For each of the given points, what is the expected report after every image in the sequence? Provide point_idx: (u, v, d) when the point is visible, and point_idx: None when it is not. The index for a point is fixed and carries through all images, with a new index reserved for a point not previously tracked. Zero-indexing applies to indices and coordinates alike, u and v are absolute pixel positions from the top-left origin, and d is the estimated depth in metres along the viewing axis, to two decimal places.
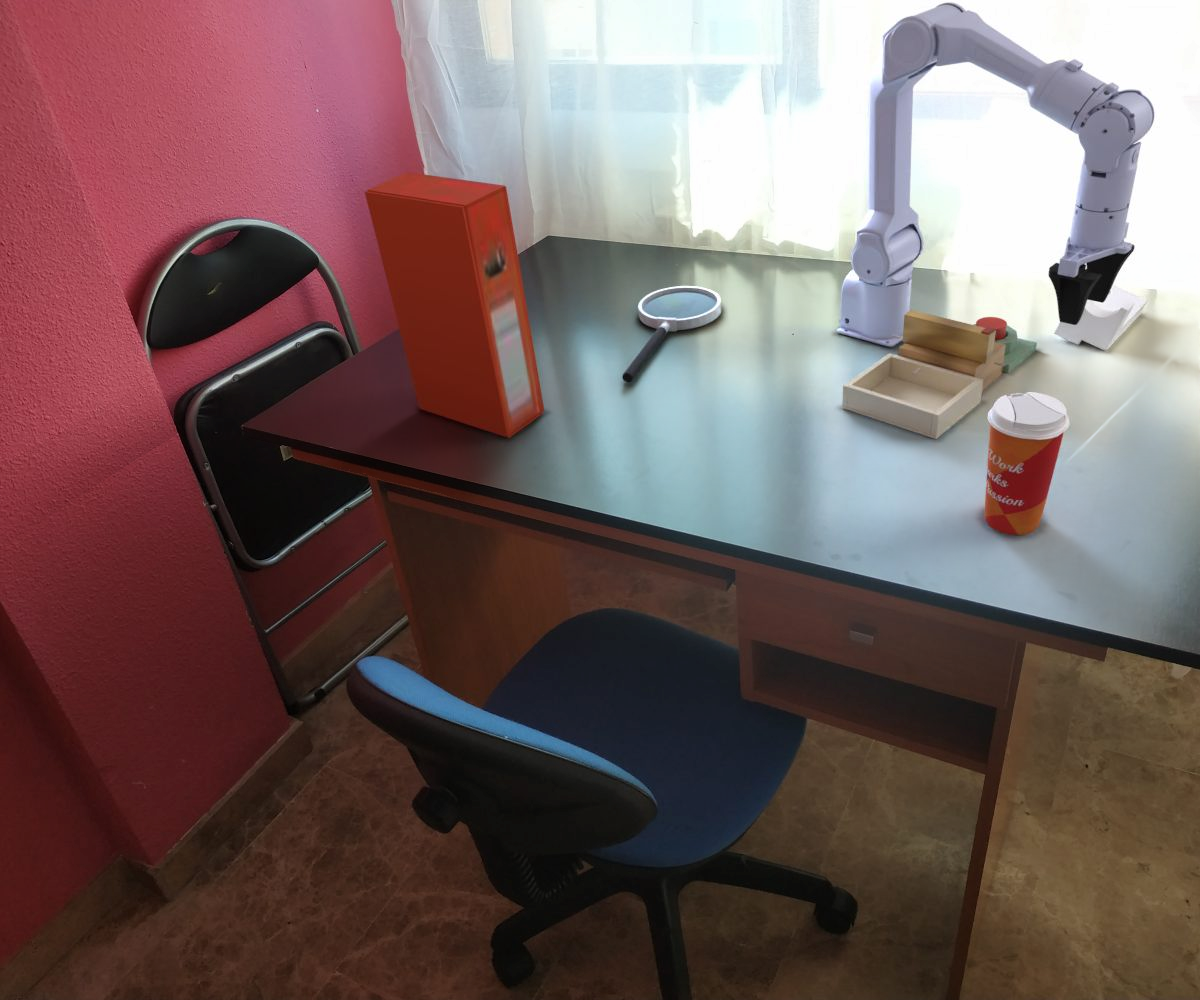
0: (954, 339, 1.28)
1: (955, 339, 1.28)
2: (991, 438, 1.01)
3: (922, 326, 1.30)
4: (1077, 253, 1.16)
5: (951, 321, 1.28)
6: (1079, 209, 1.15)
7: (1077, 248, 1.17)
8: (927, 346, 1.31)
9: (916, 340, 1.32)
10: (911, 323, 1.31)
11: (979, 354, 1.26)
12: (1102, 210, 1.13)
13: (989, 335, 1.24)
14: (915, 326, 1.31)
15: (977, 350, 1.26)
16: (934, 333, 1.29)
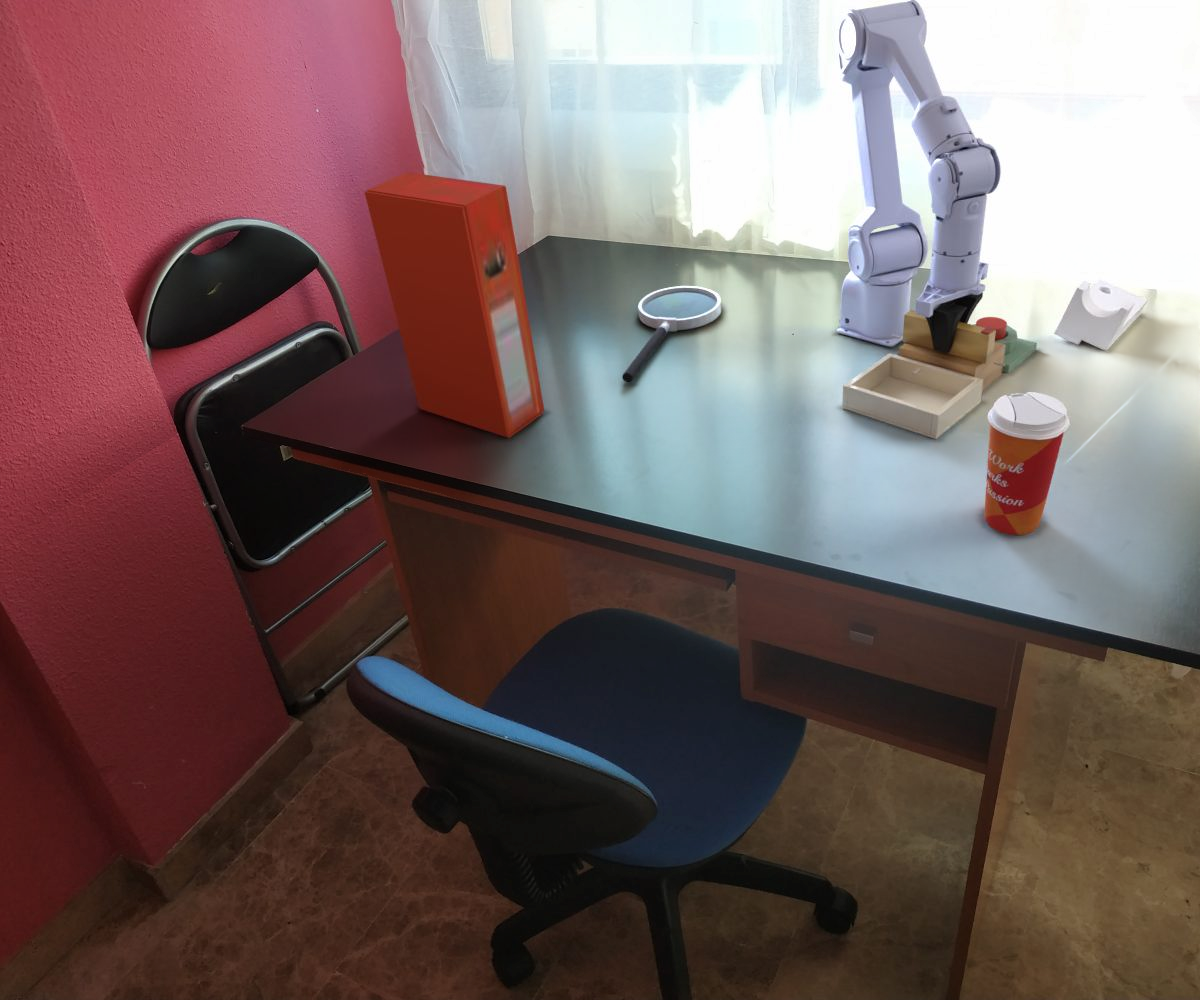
0: (954, 339, 1.28)
1: (955, 339, 1.28)
2: (991, 438, 1.01)
3: (922, 326, 1.30)
4: (933, 294, 1.22)
5: None
6: (934, 253, 1.22)
7: (934, 289, 1.24)
8: (927, 346, 1.31)
9: (916, 340, 1.32)
10: (911, 323, 1.31)
11: (979, 354, 1.26)
12: (942, 253, 1.21)
13: (989, 335, 1.24)
14: (915, 326, 1.31)
15: (977, 350, 1.26)
16: None
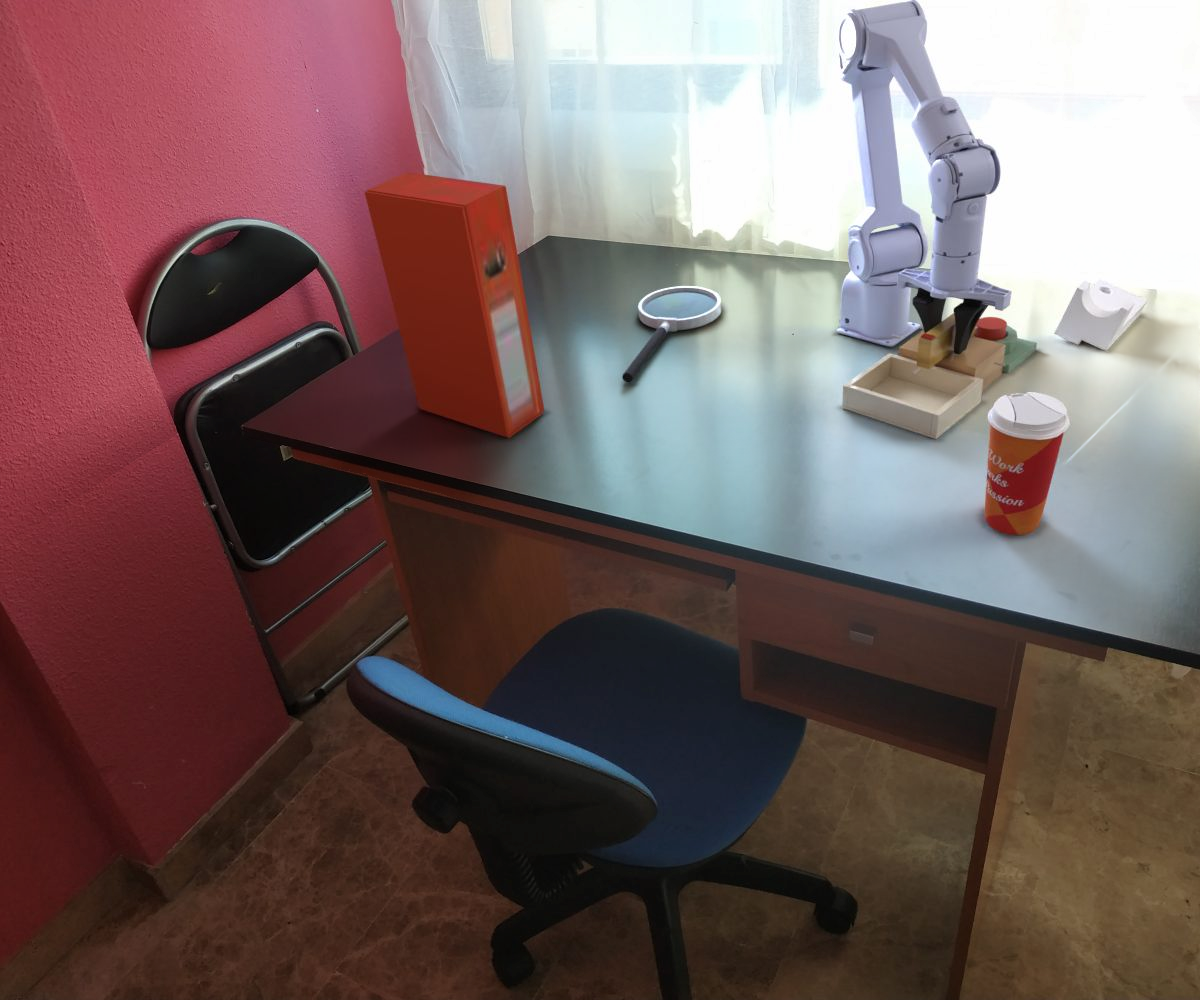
0: None
1: None
2: (991, 438, 1.01)
3: None
4: (918, 274, 1.28)
5: (950, 323, 1.28)
6: None
7: None
8: None
9: None
10: None
11: None
12: (942, 253, 1.21)
13: (920, 338, 1.25)
14: None
15: None
16: None
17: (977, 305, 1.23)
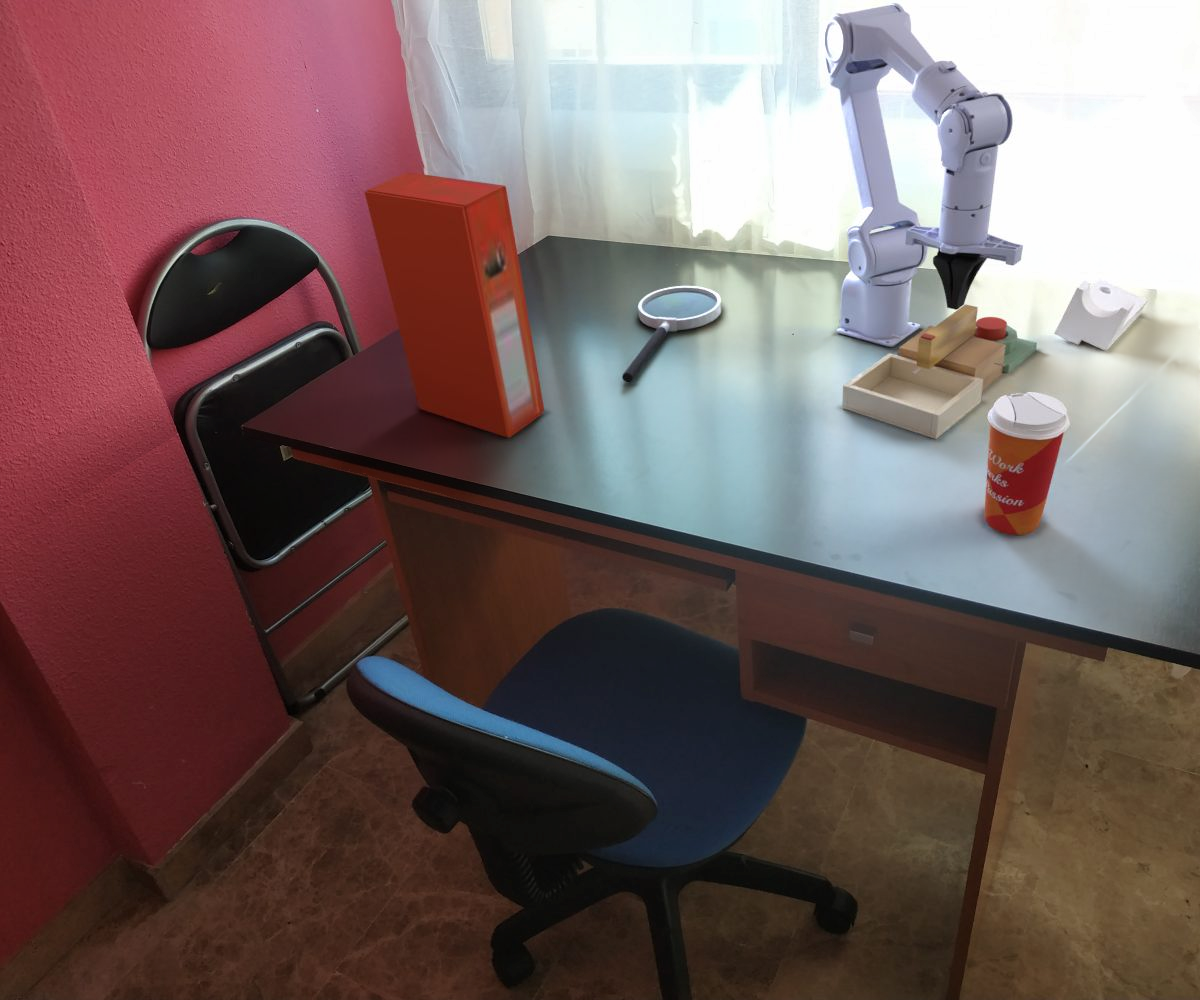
0: None
1: None
2: (991, 438, 1.01)
3: None
4: (927, 230, 1.25)
5: (950, 323, 1.28)
6: None
7: None
8: None
9: None
10: None
11: None
12: (953, 207, 1.18)
13: (920, 338, 1.25)
14: None
15: None
16: None
17: (975, 258, 1.22)
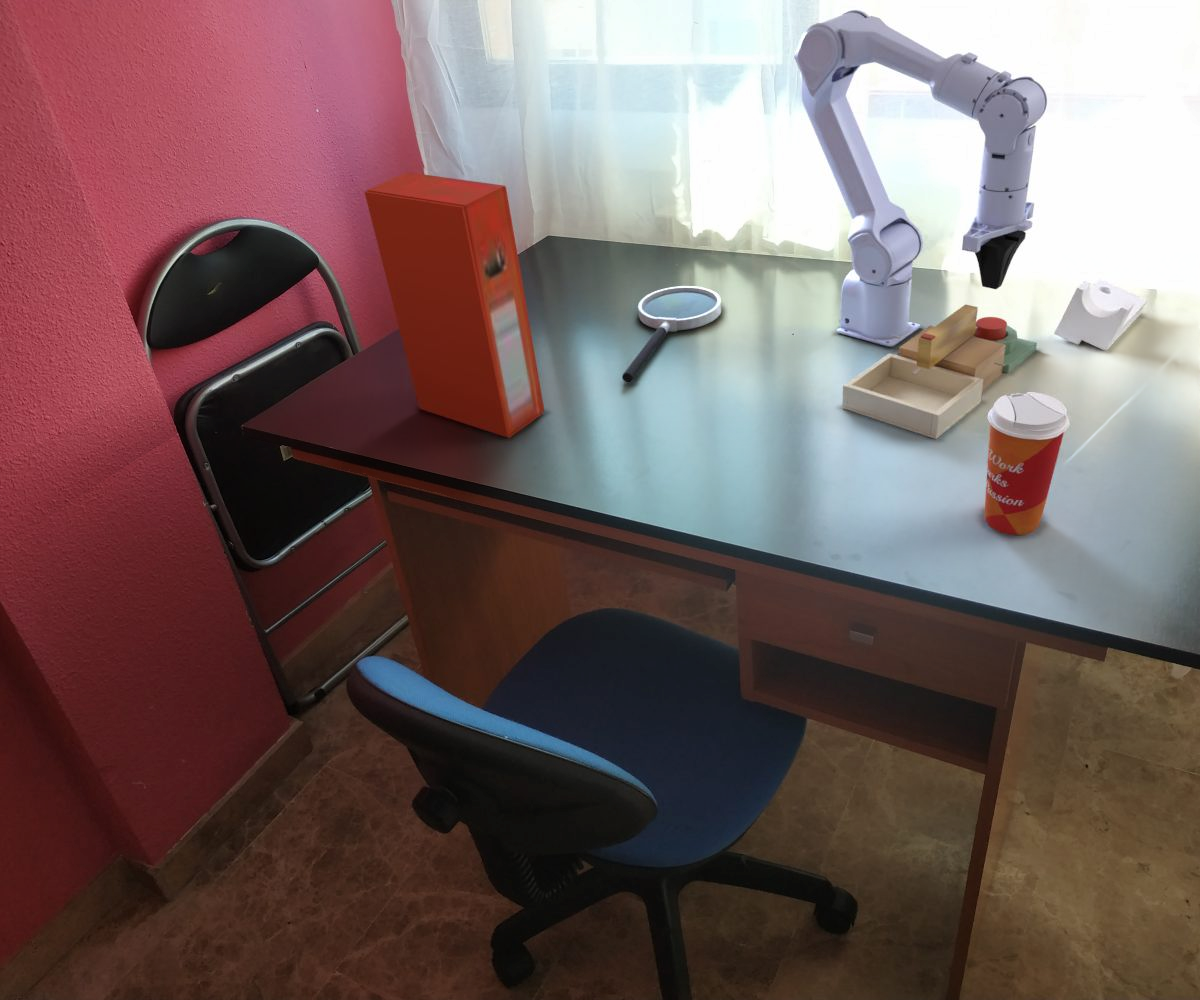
0: None
1: None
2: (991, 438, 1.01)
3: None
4: (980, 230, 1.24)
5: (950, 323, 1.28)
6: (982, 189, 1.23)
7: (981, 226, 1.25)
8: None
9: None
10: None
11: None
12: (1003, 190, 1.21)
13: (920, 338, 1.25)
14: None
15: None
16: None
17: None
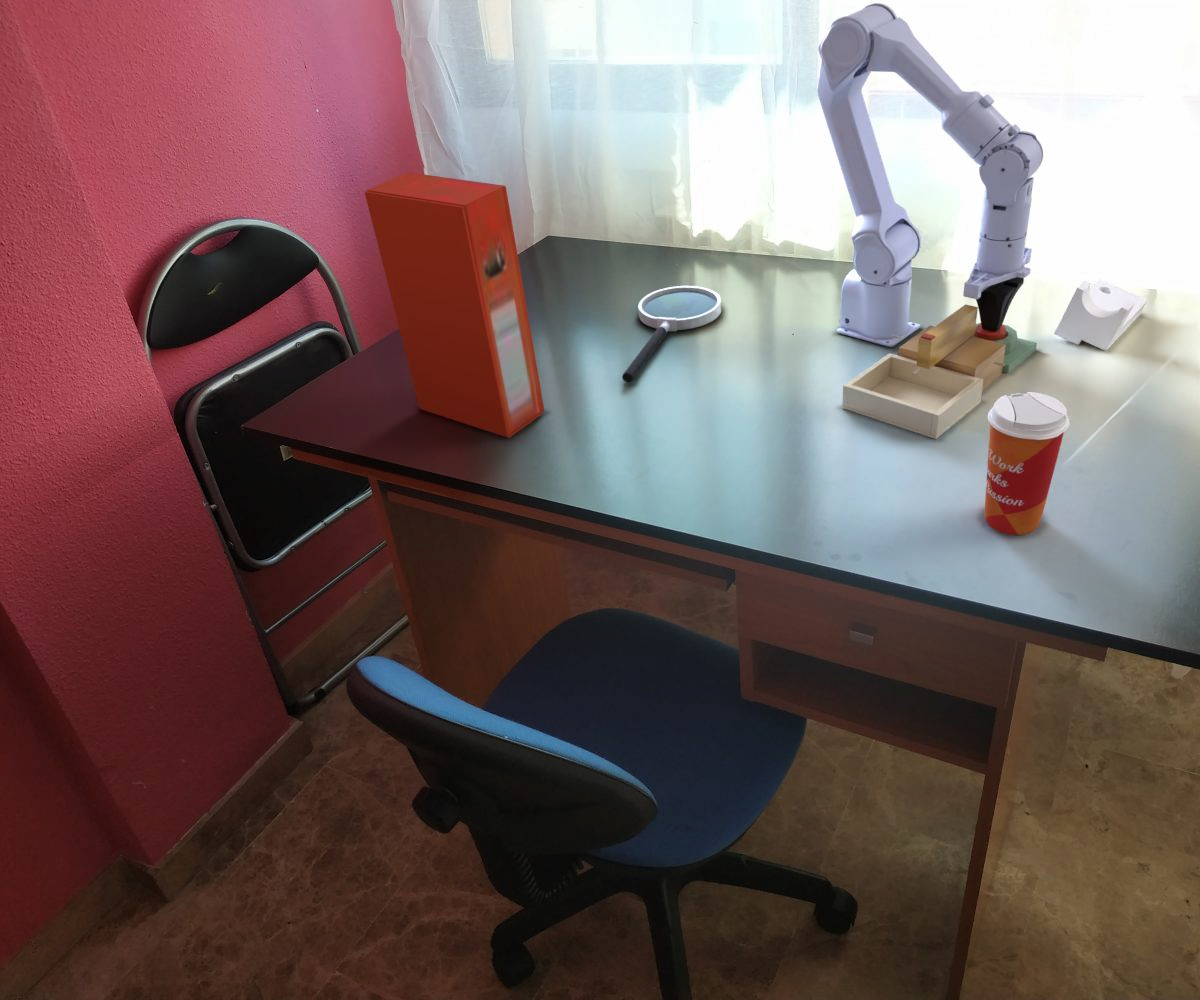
0: None
1: None
2: (991, 438, 1.01)
3: None
4: (980, 277, 1.28)
5: (950, 323, 1.28)
6: (982, 238, 1.28)
7: (981, 272, 1.30)
8: None
9: None
10: None
11: None
12: (1004, 239, 1.26)
13: (920, 338, 1.25)
14: None
15: None
16: None
17: None
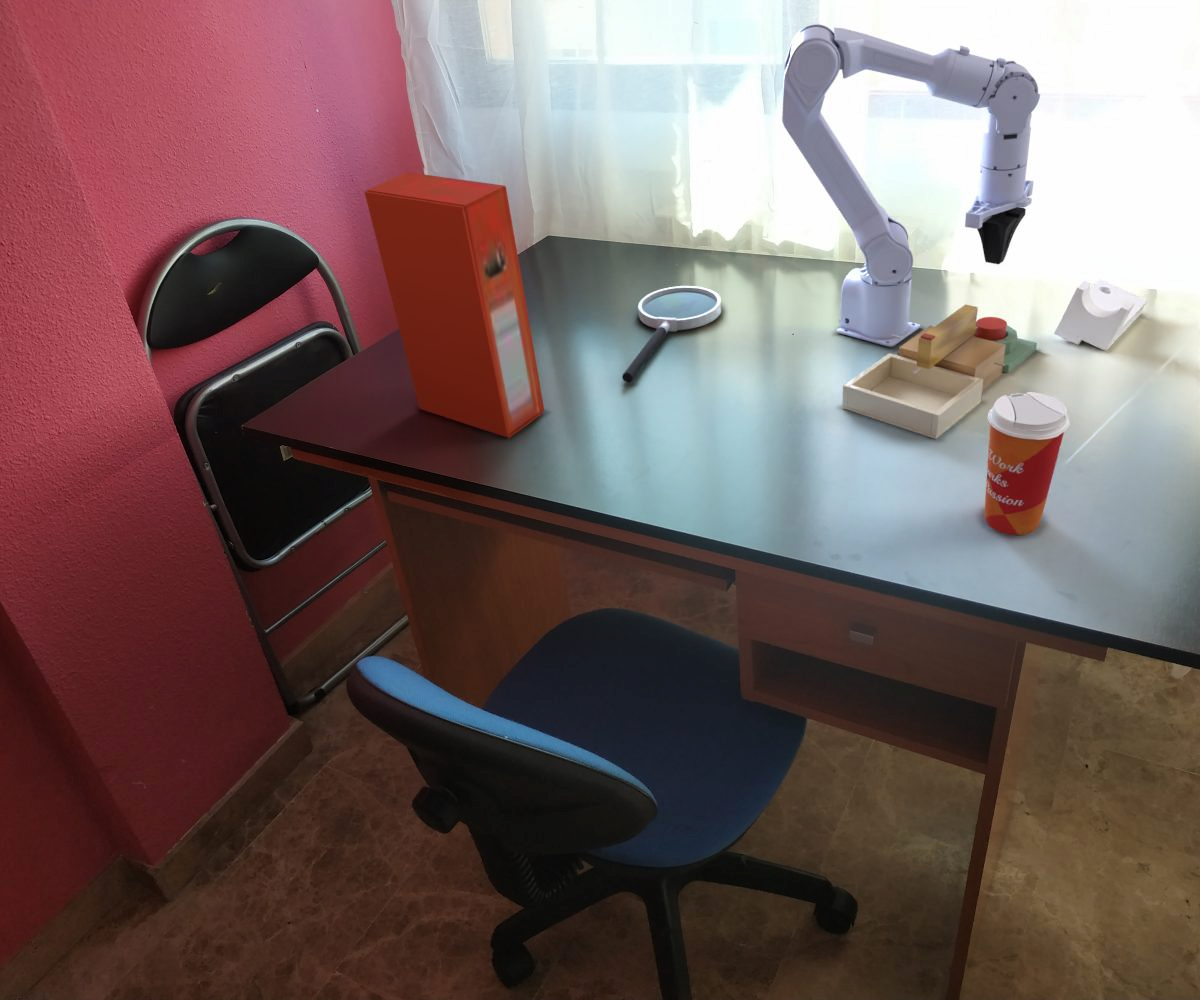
0: None
1: None
2: (991, 438, 1.01)
3: None
4: (982, 207, 1.30)
5: (950, 323, 1.28)
6: (983, 168, 1.30)
7: (983, 204, 1.32)
8: None
9: None
10: None
11: None
12: (1016, 167, 1.28)
13: (920, 338, 1.25)
14: None
15: None
16: None
17: None
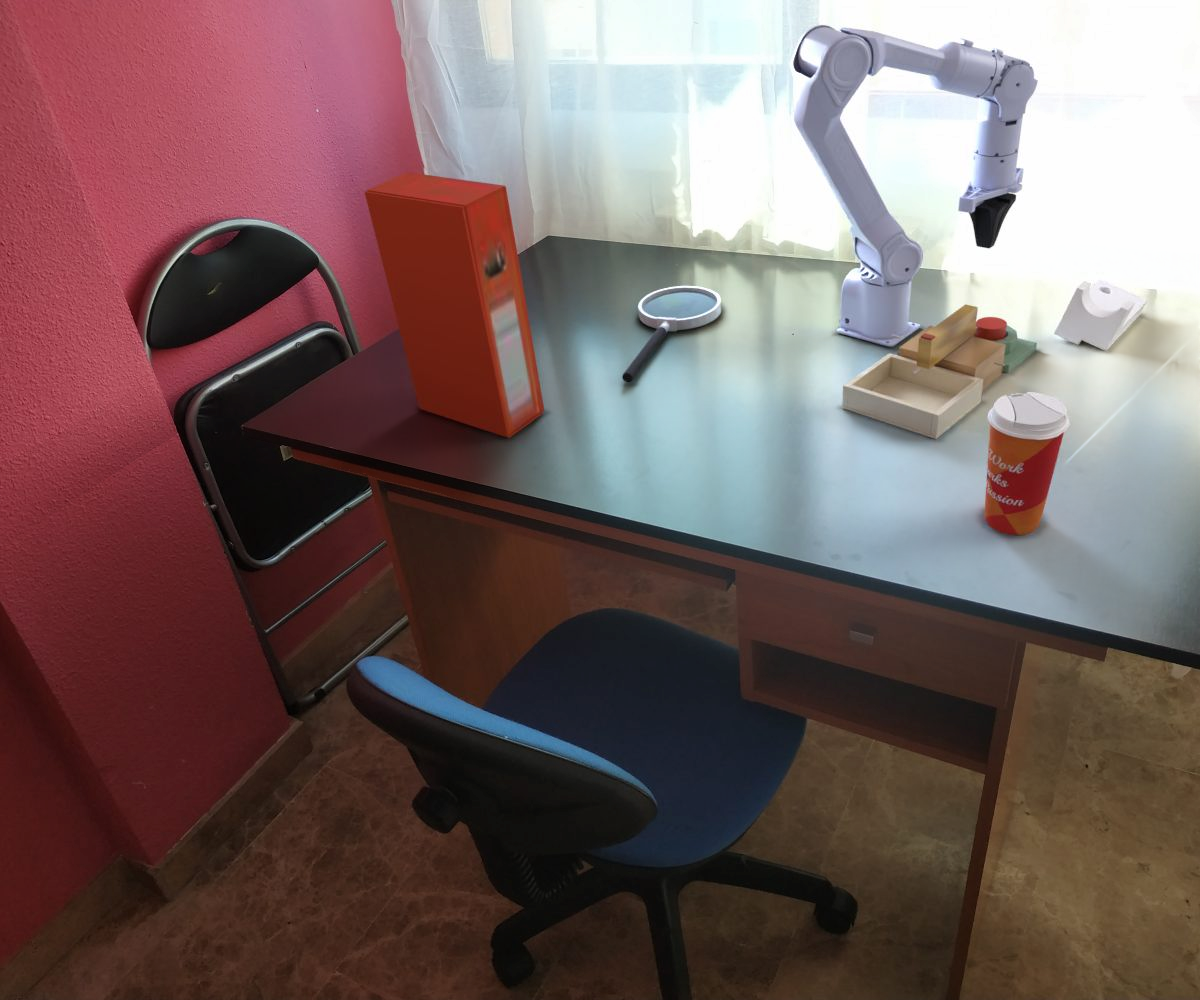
0: None
1: None
2: (991, 438, 1.01)
3: None
4: (974, 192, 1.35)
5: (950, 323, 1.28)
6: (976, 155, 1.35)
7: (976, 189, 1.36)
8: None
9: None
10: None
11: None
12: (1014, 152, 1.33)
13: (920, 338, 1.25)
14: None
15: None
16: None
17: None
